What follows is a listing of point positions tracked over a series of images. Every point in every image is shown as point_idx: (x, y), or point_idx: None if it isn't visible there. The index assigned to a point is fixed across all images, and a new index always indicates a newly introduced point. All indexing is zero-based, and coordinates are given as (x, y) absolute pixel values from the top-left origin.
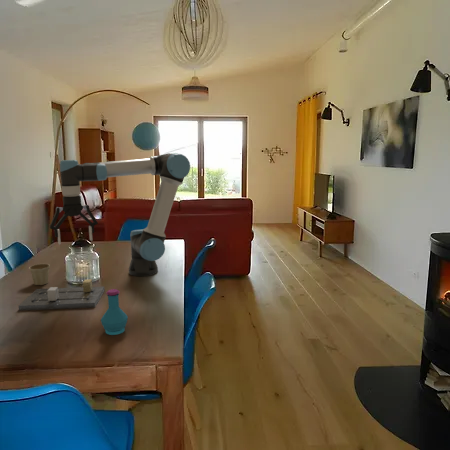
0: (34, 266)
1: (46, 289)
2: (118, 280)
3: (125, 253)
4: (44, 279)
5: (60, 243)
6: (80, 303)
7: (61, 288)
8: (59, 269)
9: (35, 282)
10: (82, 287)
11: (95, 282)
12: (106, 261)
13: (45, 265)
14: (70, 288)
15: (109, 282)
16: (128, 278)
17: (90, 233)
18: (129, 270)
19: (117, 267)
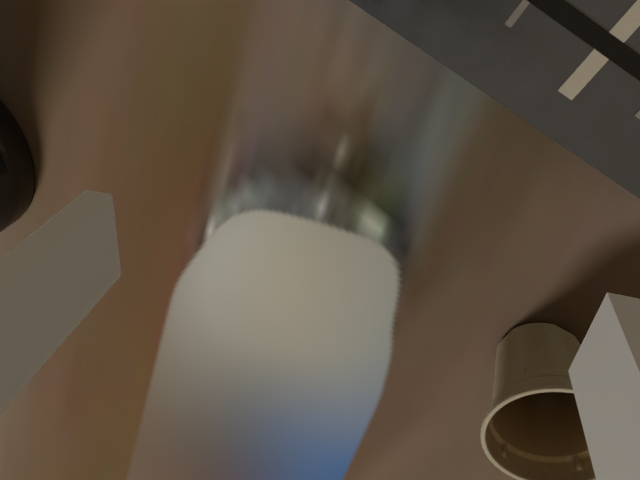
0: (564, 475)
1: (622, 161)
2: (116, 93)
3: (18, 470)
4: (536, 341)
5: (617, 304)
6: None
7: (527, 109)
8: (360, 475)
9: None
10: (392, 25)
11: (258, 156)
12: (121, 433)
13: (496, 451)
14: (475, 63)
15: (178, 93)
16: (50, 89)
17: (28, 264)
18: (15, 172)
19: (84, 320)
